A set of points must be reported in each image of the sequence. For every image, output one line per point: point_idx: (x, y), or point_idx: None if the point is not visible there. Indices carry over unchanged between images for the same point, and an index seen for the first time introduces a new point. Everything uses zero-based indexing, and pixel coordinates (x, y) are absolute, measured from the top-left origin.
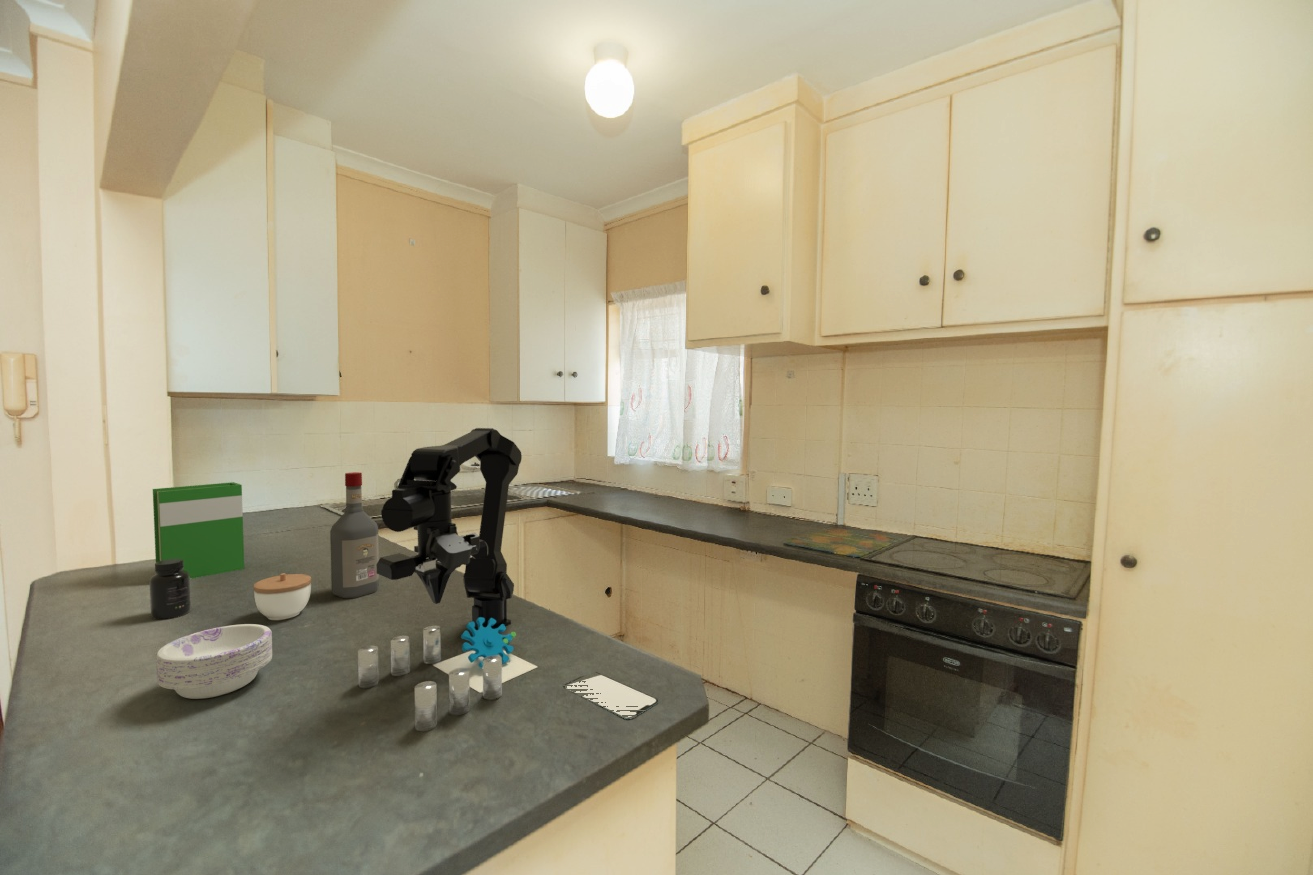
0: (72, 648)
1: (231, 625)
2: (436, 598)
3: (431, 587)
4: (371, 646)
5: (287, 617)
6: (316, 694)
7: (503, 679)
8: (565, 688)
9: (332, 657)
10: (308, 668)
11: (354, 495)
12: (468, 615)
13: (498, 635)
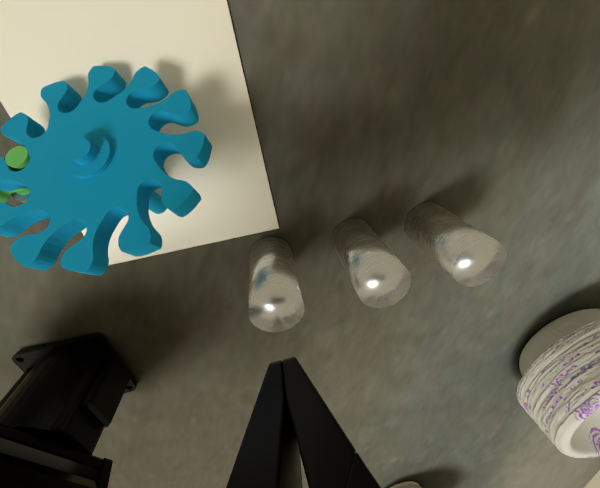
0: (574, 472)
1: (583, 457)
2: (299, 382)
3: (365, 468)
4: (463, 278)
5: (403, 484)
6: (506, 234)
7: None
8: None
9: (416, 357)
10: (460, 336)
11: None
12: (131, 421)
13: (35, 178)
